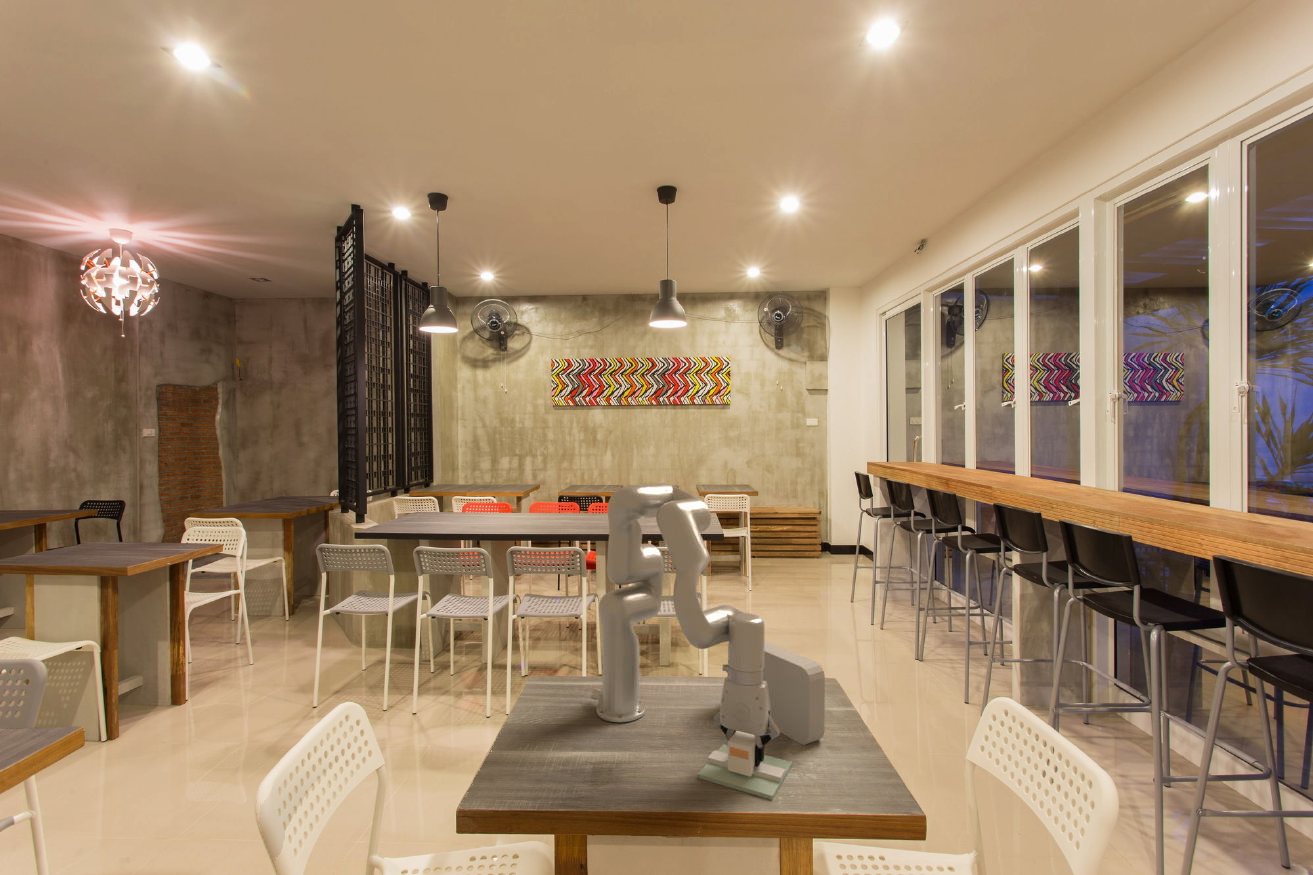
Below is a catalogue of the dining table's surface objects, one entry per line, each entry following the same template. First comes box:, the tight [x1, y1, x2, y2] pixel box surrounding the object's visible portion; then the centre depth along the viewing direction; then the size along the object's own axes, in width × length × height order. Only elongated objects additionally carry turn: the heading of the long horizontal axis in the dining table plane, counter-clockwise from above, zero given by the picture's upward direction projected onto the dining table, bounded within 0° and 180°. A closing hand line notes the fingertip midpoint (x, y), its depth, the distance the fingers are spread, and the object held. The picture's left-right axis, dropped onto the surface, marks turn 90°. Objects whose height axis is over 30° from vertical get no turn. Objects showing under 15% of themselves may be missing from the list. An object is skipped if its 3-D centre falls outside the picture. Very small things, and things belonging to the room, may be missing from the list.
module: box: [727, 731, 756, 777], centre depth 128 cm, size 5×8×6 cm, turn 152°
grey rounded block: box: [727, 640, 826, 746], centre depth 151 cm, size 29×8×18 cm, turn 33°
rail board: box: [697, 743, 793, 801], centre depth 128 cm, size 16×14×2 cm
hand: (745, 759), depth 128 cm, fingers closed on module, 4 cm apart
